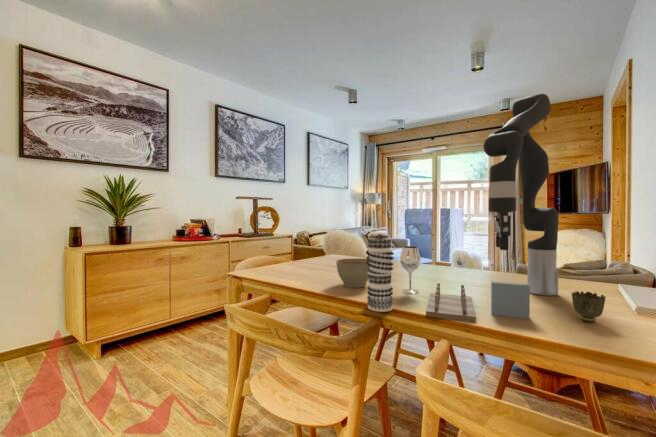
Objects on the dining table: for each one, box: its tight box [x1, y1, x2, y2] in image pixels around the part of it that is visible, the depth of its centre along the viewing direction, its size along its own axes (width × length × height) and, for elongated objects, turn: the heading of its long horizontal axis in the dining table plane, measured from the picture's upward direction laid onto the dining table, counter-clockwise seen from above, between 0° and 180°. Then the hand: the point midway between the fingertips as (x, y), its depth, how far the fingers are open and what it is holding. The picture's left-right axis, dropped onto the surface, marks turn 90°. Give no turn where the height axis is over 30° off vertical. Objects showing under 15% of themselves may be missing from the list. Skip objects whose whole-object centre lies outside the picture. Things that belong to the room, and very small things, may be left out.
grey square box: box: [490, 280, 531, 319], centre depth 93 cm, size 2×10×10 cm, turn 68°
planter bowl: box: [335, 258, 369, 289], centre depth 132 cm, size 16×16×11 cm
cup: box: [571, 290, 607, 324], centre depth 87 cm, size 8×7×8 cm
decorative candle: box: [365, 232, 395, 313], centre depth 101 cm, size 9×9×25 cm
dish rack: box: [425, 282, 477, 323], centre depth 100 cm, size 22×14×6 cm, turn 158°
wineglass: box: [399, 245, 422, 295], centre depth 121 cm, size 8×8×18 cm
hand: (501, 248), depth 94 cm, fingers open, 8 cm apart
